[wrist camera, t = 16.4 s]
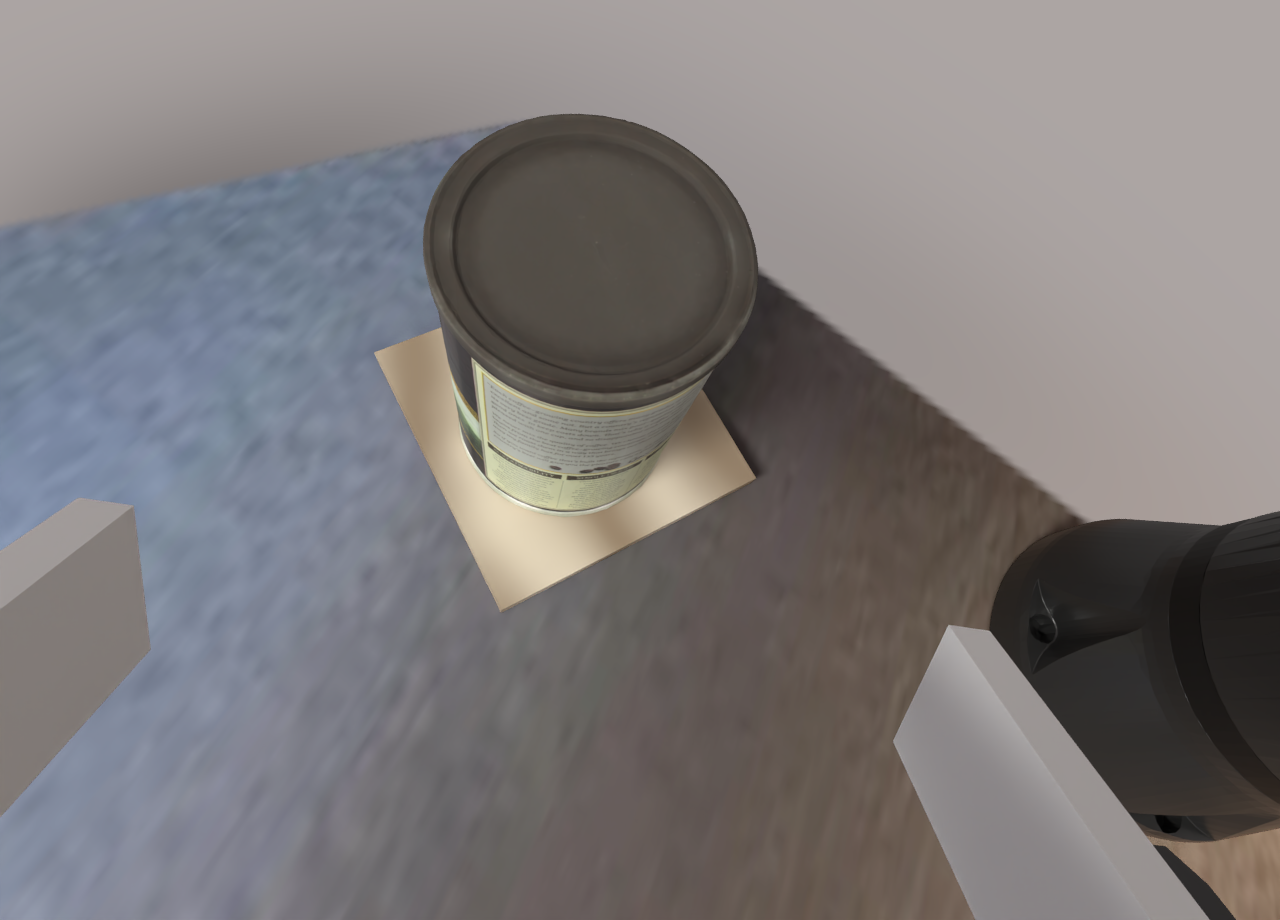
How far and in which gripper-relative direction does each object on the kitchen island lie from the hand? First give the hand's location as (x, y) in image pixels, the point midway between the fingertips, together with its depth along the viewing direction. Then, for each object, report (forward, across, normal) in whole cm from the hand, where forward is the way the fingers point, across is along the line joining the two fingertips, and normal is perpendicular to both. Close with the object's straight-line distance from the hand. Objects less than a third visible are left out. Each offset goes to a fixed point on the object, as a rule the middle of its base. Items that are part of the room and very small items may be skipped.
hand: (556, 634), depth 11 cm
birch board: (+23, 0, -6) cm, 24 cm away
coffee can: (+23, 0, -6) cm, 24 cm away
